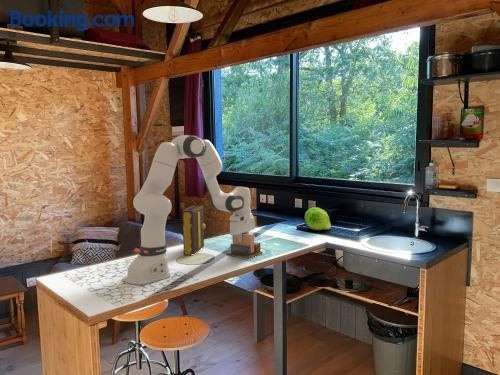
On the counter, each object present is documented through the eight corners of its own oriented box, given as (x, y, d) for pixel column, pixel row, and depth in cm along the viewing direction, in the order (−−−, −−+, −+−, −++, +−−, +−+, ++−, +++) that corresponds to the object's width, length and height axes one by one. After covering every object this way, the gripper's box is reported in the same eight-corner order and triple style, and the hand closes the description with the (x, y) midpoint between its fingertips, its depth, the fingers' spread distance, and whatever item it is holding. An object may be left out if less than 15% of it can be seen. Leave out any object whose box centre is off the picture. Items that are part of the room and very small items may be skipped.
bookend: (249, 255, 222) (248, 246, 221) (230, 253, 228) (230, 244, 228) (250, 255, 223) (249, 246, 222) (231, 252, 229) (231, 243, 228)
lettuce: (329, 235, 280) (339, 215, 284) (304, 220, 280) (314, 200, 284) (321, 238, 297) (330, 219, 301) (297, 223, 296) (307, 205, 301)
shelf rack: (250, 258, 220) (250, 247, 219) (226, 254, 228) (226, 244, 228) (262, 253, 230) (262, 242, 230) (238, 249, 239) (238, 239, 238)
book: (195, 255, 227) (194, 211, 225) (180, 255, 229) (179, 210, 227) (207, 245, 249) (206, 205, 246) (193, 245, 251) (192, 204, 248)
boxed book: (250, 253, 223) (250, 235, 222) (232, 250, 230) (232, 232, 229) (254, 251, 226) (254, 234, 225) (236, 249, 233) (235, 231, 232)
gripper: (248, 212, 236) (248, 236, 238) (227, 218, 219) (228, 243, 221) (257, 213, 233) (257, 237, 234) (237, 219, 216) (237, 244, 217)
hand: (243, 240), depth 227 cm, fingers closed on boxed book, 3 cm apart
